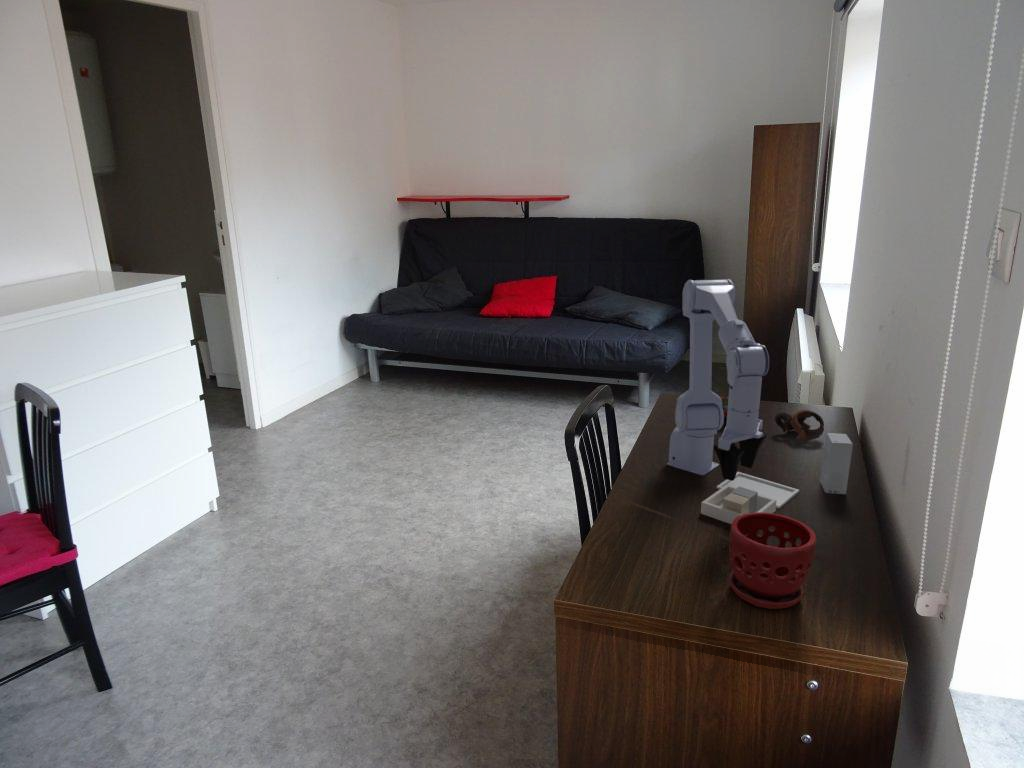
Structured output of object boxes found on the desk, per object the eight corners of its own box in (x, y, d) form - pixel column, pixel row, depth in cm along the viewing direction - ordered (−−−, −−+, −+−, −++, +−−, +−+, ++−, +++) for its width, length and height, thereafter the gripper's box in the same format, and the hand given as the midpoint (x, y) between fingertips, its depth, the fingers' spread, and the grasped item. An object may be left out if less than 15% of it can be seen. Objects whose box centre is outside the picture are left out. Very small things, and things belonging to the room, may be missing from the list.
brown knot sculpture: (819, 433, 188) (830, 413, 181) (812, 459, 182) (823, 440, 176) (773, 417, 191) (782, 397, 185) (765, 442, 185) (774, 422, 179)
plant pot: (807, 624, 111) (816, 556, 108) (720, 605, 116) (726, 540, 113) (809, 579, 123) (817, 517, 119) (730, 564, 128) (735, 504, 124)
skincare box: (846, 496, 152) (853, 444, 148) (825, 494, 153) (831, 442, 149) (839, 484, 158) (846, 433, 154) (819, 482, 159) (825, 432, 155)
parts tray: (716, 490, 156) (716, 486, 155) (737, 475, 163) (738, 471, 162) (779, 510, 147) (779, 506, 146) (798, 494, 153) (799, 489, 153)
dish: (700, 515, 145) (701, 502, 144) (726, 497, 153) (727, 484, 152) (751, 533, 138) (752, 519, 137) (775, 513, 146) (776, 499, 145)
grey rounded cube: (730, 509, 146) (731, 492, 145) (737, 503, 149) (739, 486, 147) (748, 516, 144) (750, 497, 142) (756, 509, 146) (757, 492, 145)
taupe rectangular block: (721, 516, 144) (723, 498, 142) (729, 510, 146) (731, 492, 145) (740, 523, 141) (742, 504, 140) (748, 516, 143) (749, 498, 142)
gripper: (745, 422, 129) (739, 490, 133) (779, 402, 139) (773, 466, 143) (710, 413, 134) (705, 480, 138) (745, 395, 144) (740, 457, 148)
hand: (737, 472), depth 141 cm, fingers open, 7 cm apart
